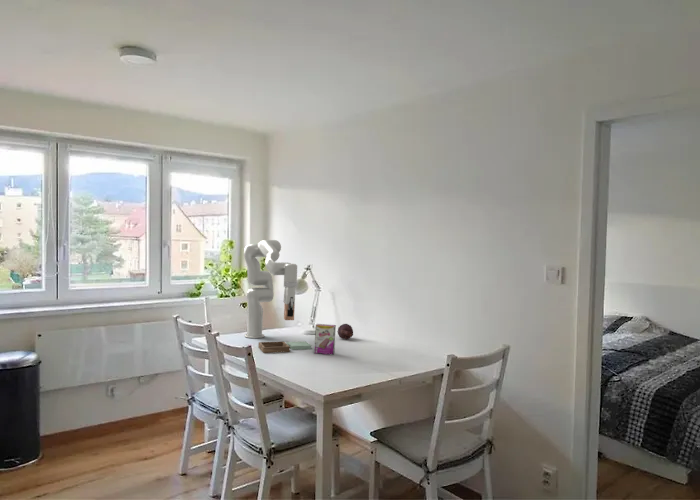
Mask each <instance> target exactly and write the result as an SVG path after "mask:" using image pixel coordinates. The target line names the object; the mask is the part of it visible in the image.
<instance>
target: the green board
mask: <svg viewBox="0 0 700 500" xmlns="http://www.w3.org/2000/svg"><path fill="white" fill-rule="evenodd" d="M286 344H287V345H288V346H290V351H293V350H294V351H295V350H311V349H312V346H313V345H312V344H310V343H309V342H307V341H305V340H304V341H286Z"/></svg>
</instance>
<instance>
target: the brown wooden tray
mask: <svg viewBox="0 0 700 500" xmlns="http://www.w3.org/2000/svg"><path fill="white" fill-rule="evenodd" d="M257 346H258V349H259V350H260V352H262V354H270V353H271V354H272V353H273V354H275V353H291V352H290V351H291V349H290V346H288V345H287V342H285V341H259V342H258V345H257Z"/></svg>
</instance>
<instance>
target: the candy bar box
mask: <svg viewBox="0 0 700 500" xmlns="http://www.w3.org/2000/svg"><path fill="white" fill-rule="evenodd" d="M336 327H337V325H336V324H327V323H326V324H325V323H316V324H315V327H314V328H315V329H314V331H315V332H314V333H315V334H314V354H317V355H330V354H333V355H334V354H335V352H336V332H337V331H336V329H337V328H336Z"/></svg>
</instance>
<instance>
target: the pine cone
mask: <svg viewBox="0 0 700 500" xmlns="http://www.w3.org/2000/svg"><path fill="white" fill-rule="evenodd" d="M336 332H337V335H338V338H340V339H342V340H345V339H346V340H349V339H351V338H352V337H353V336H354V329H353V327H352V325H350V324H348V323H343V324H341V325H339V327H338V328H337V331H336Z"/></svg>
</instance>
